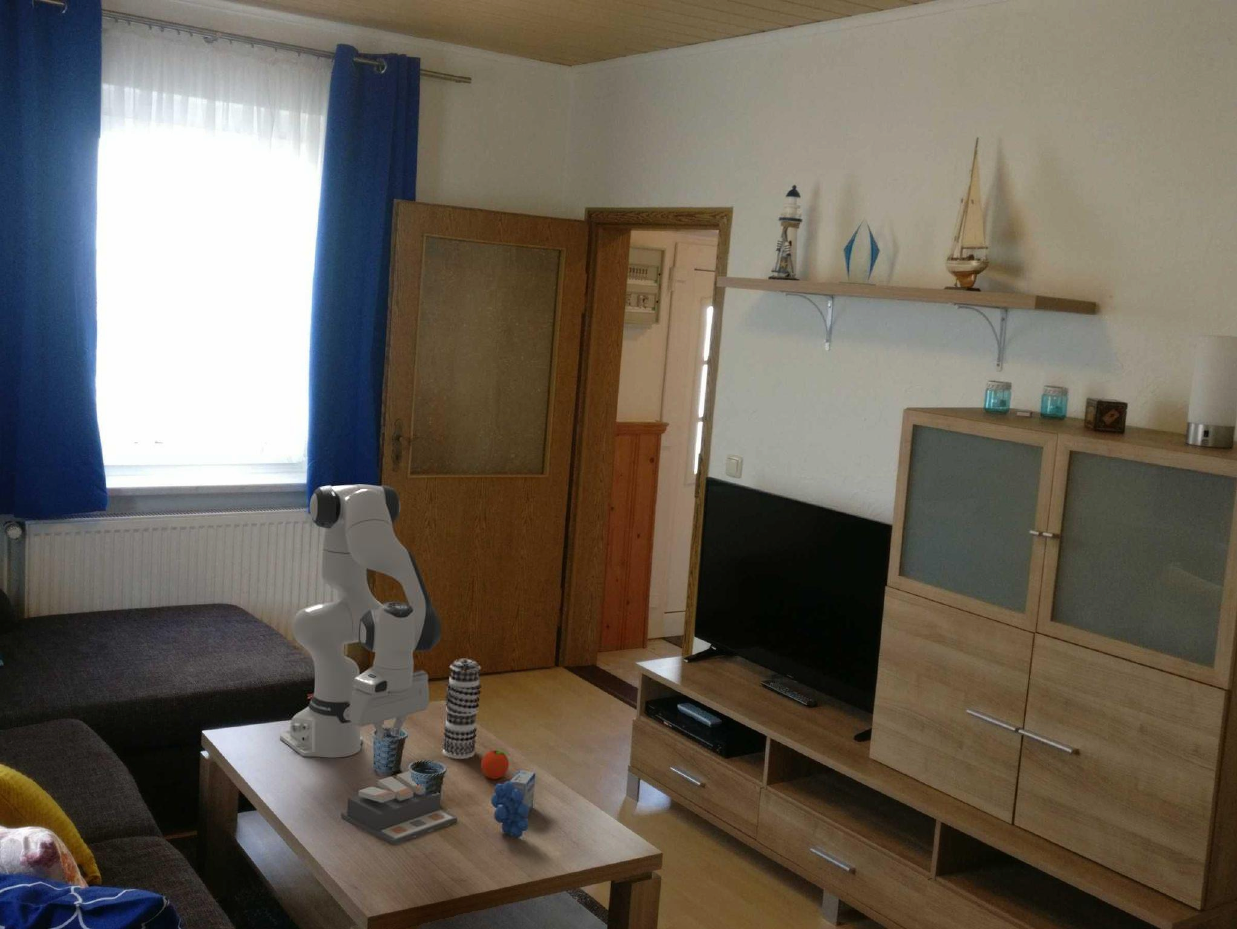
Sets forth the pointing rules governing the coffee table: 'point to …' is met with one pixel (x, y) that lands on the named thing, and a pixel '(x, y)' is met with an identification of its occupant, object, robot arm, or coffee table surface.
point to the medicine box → (525, 786)
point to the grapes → (510, 809)
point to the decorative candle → (461, 709)
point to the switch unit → (397, 816)
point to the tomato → (495, 764)
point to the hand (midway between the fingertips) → (388, 736)
